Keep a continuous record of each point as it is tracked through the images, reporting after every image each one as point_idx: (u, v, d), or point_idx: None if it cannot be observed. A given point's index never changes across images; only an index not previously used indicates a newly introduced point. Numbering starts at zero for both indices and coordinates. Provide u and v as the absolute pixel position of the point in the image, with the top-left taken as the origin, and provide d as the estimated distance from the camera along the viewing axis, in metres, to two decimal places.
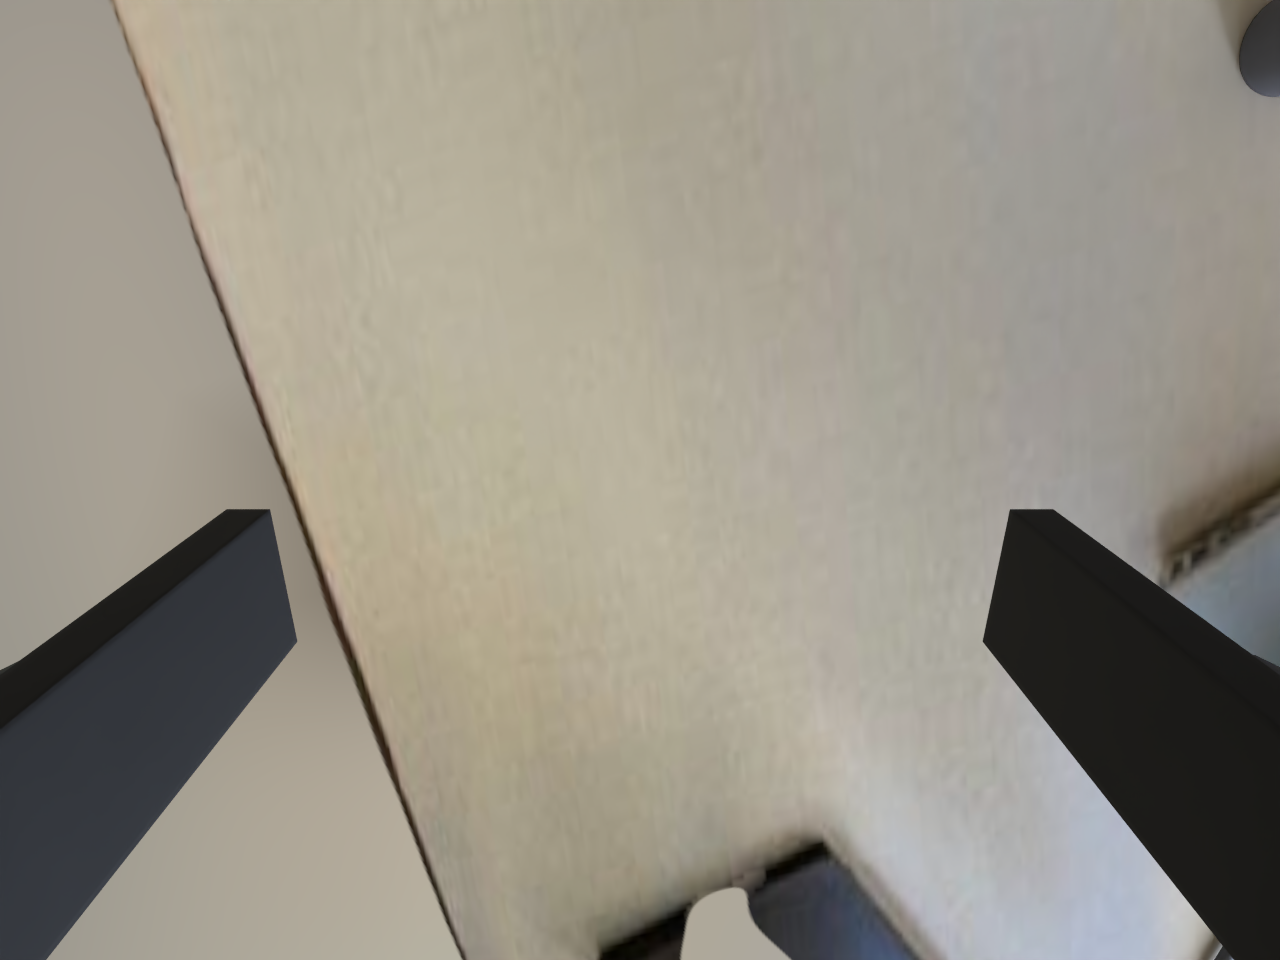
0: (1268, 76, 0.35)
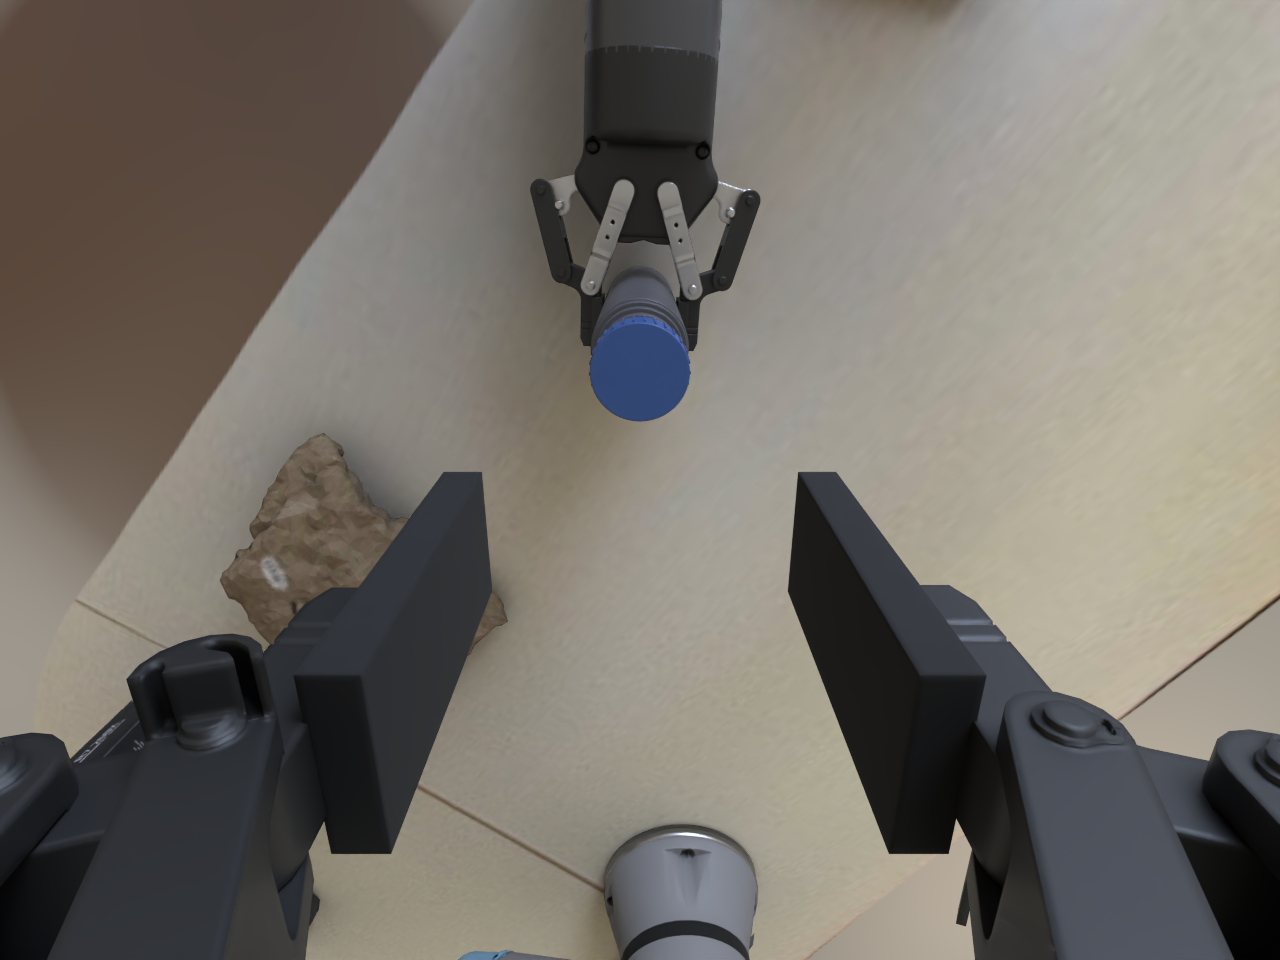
0: None
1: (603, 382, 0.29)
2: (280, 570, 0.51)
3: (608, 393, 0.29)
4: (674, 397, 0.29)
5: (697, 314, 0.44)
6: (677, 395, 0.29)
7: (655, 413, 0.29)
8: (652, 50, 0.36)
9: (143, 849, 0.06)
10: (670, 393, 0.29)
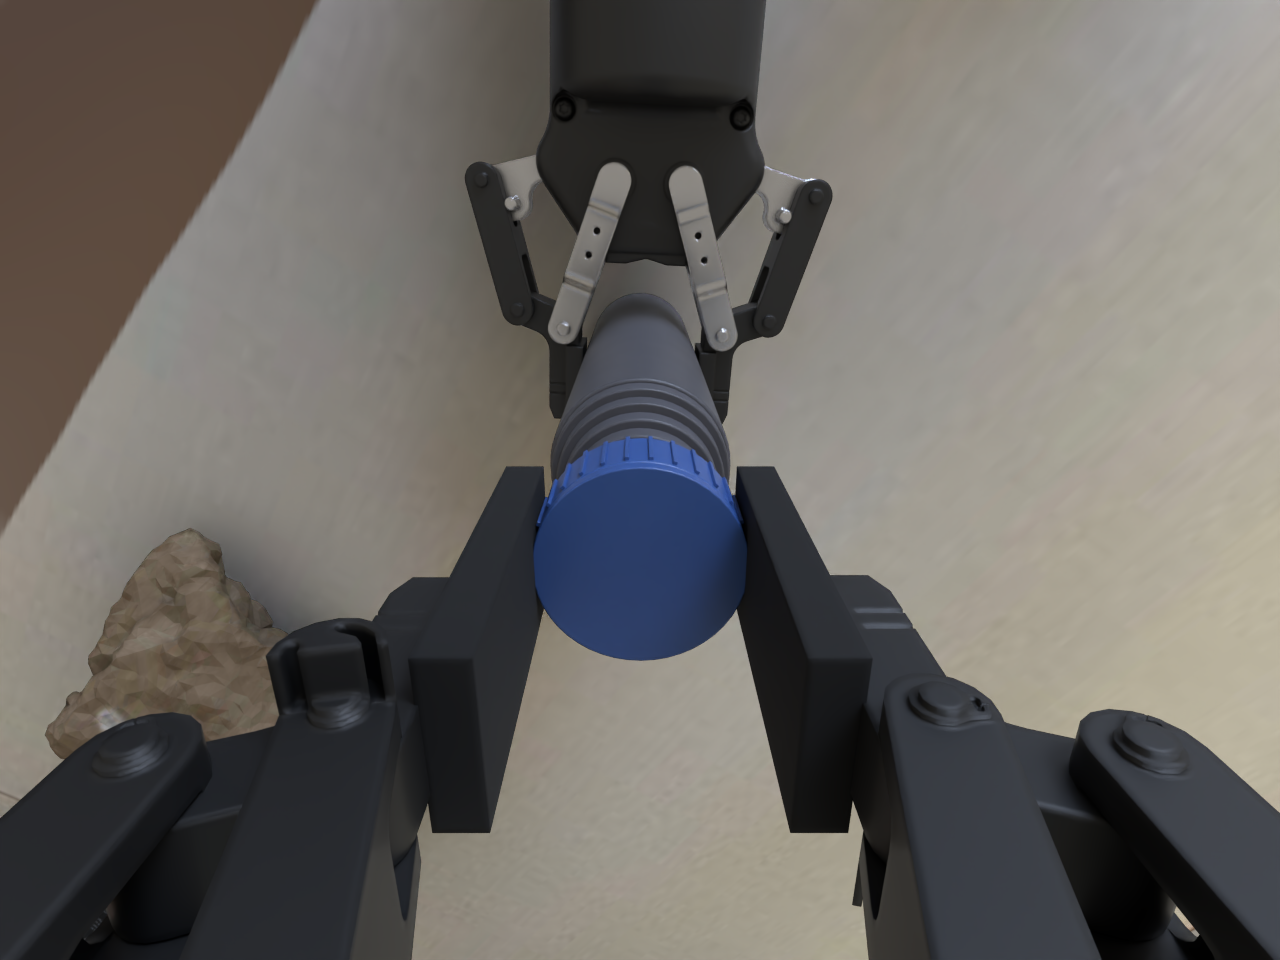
0: None
1: (560, 587, 0.13)
2: None
3: (573, 608, 0.13)
4: (715, 616, 0.13)
5: (728, 372, 0.29)
6: (721, 612, 0.13)
7: (673, 646, 0.14)
8: None
9: (278, 821, 0.06)
10: (706, 608, 0.13)
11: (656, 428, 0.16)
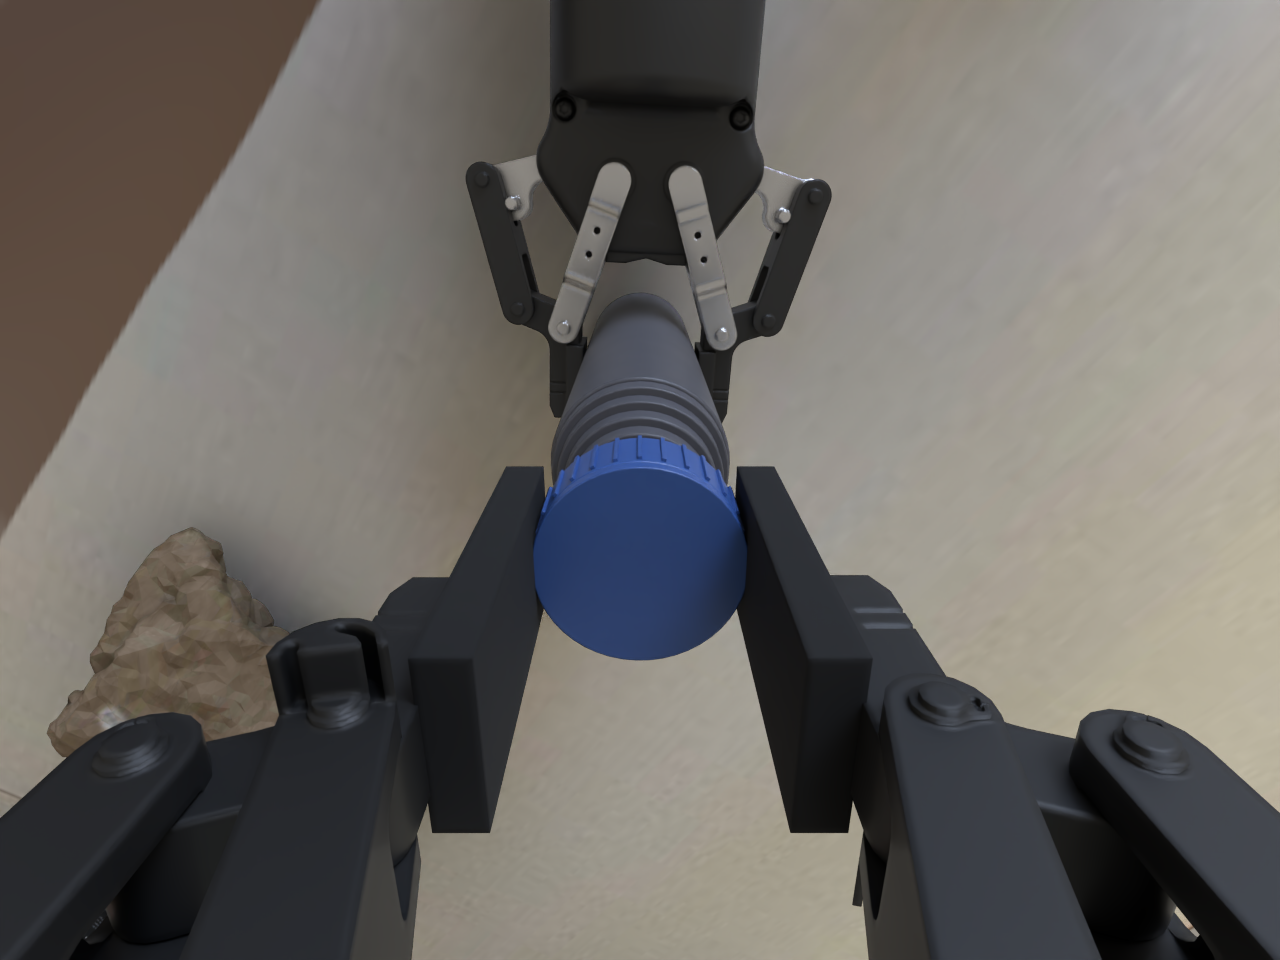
0: None
1: (693, 623, 0.13)
2: None
3: (710, 605, 0.13)
4: (653, 483, 0.12)
5: (728, 371, 0.29)
6: (645, 480, 0.12)
7: (706, 503, 0.13)
8: None
9: (277, 821, 0.06)
10: (649, 494, 0.12)
11: (656, 426, 0.16)
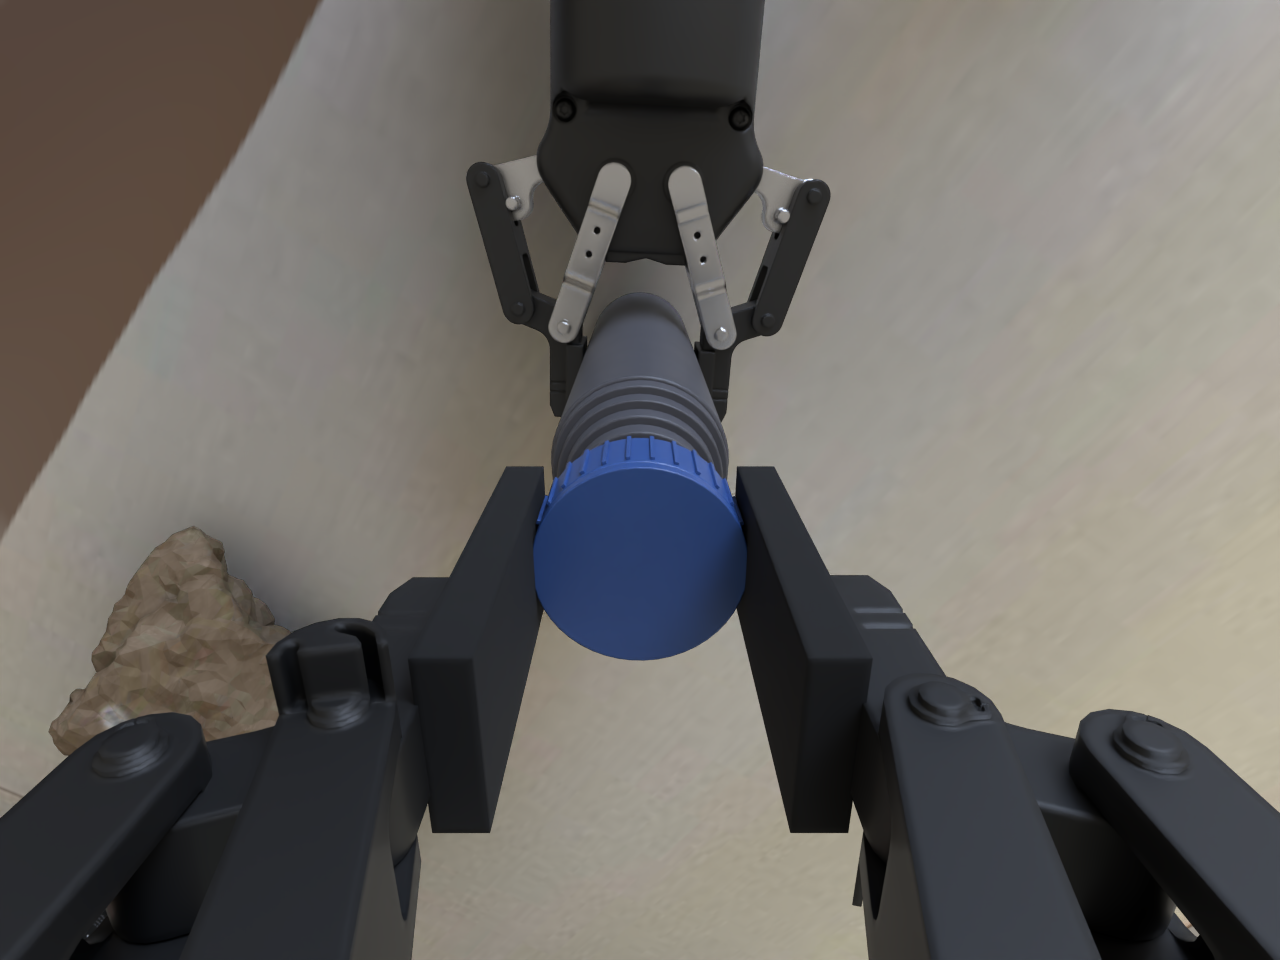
0: None
1: (671, 498, 0.12)
2: None
3: (643, 493, 0.12)
4: (553, 597, 0.13)
5: (727, 370, 0.29)
6: (553, 604, 0.13)
7: (544, 549, 0.13)
8: None
9: (277, 821, 0.06)
10: (565, 595, 0.13)
11: (655, 424, 0.16)
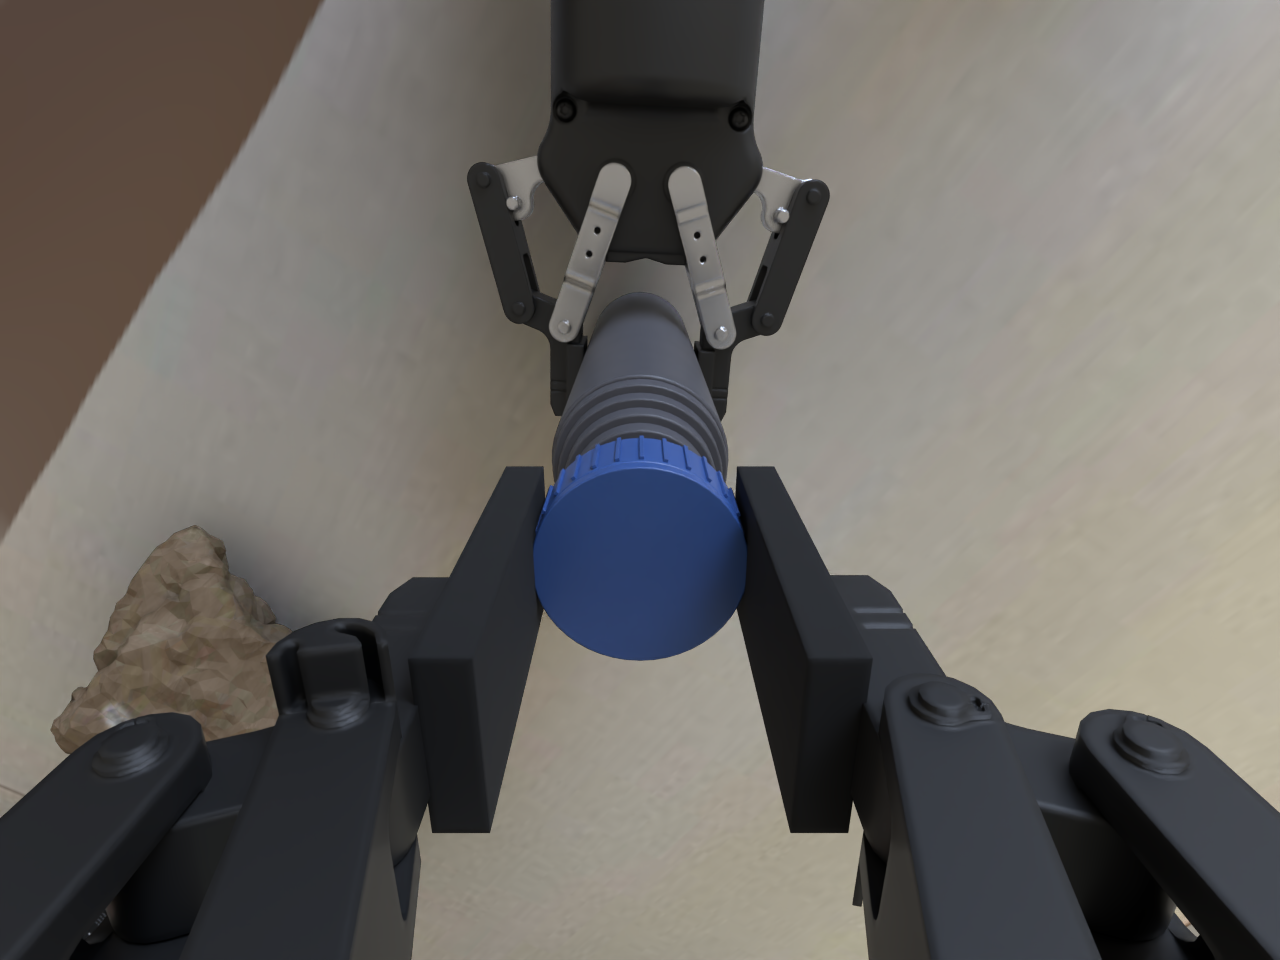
0: None
1: (557, 578, 0.13)
2: None
3: (566, 600, 0.13)
4: (706, 624, 0.13)
5: (727, 369, 0.29)
6: (713, 621, 0.13)
7: (661, 649, 0.14)
8: None
9: (278, 821, 0.06)
10: (699, 615, 0.13)
11: (655, 423, 0.16)
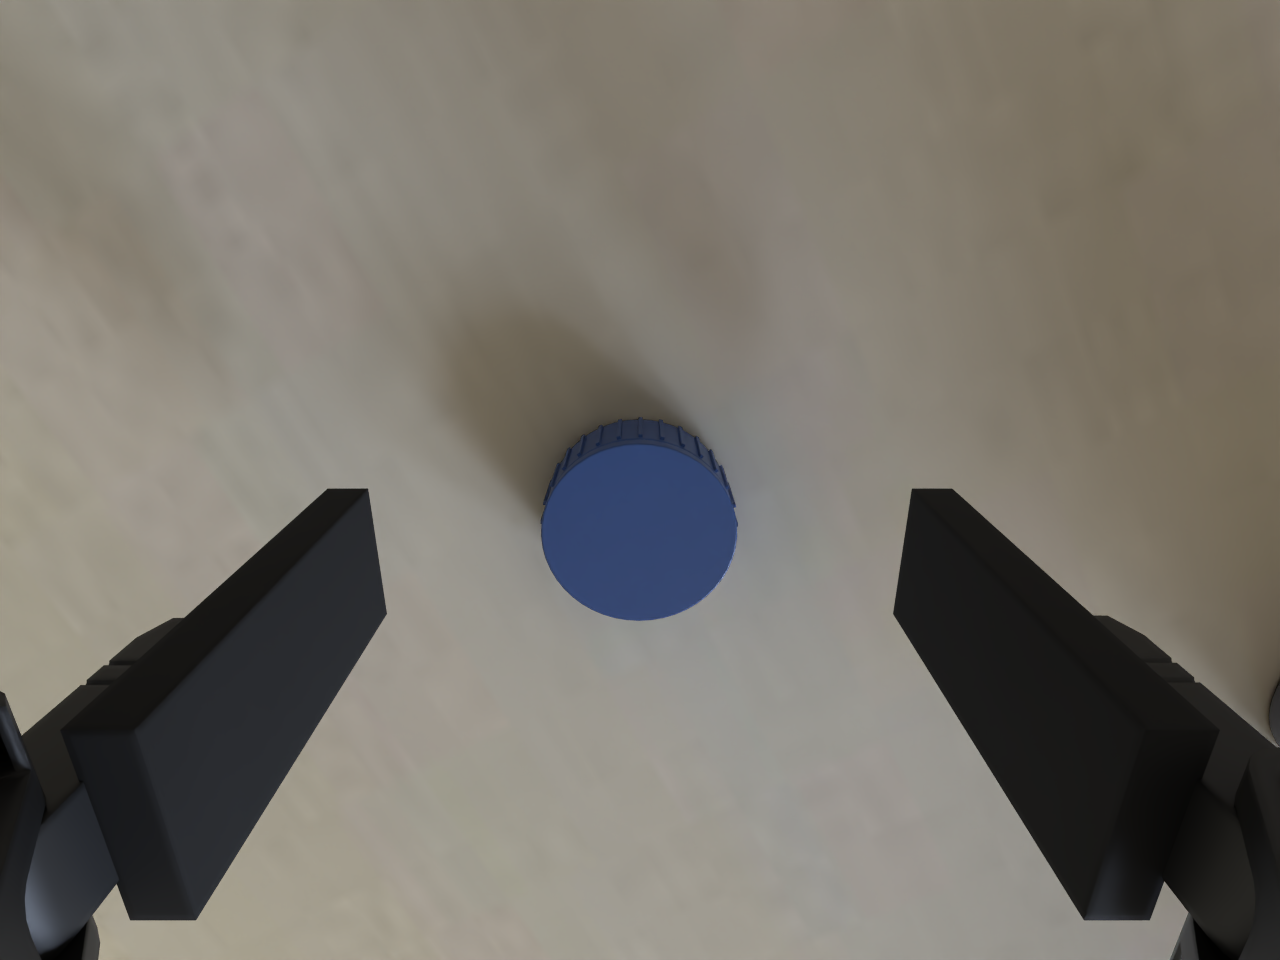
0: None
1: (564, 544, 0.15)
2: None
3: (573, 564, 0.15)
4: (699, 587, 0.15)
5: None
6: (705, 584, 0.15)
7: (658, 610, 0.15)
8: None
9: None
10: (692, 579, 0.15)
11: None
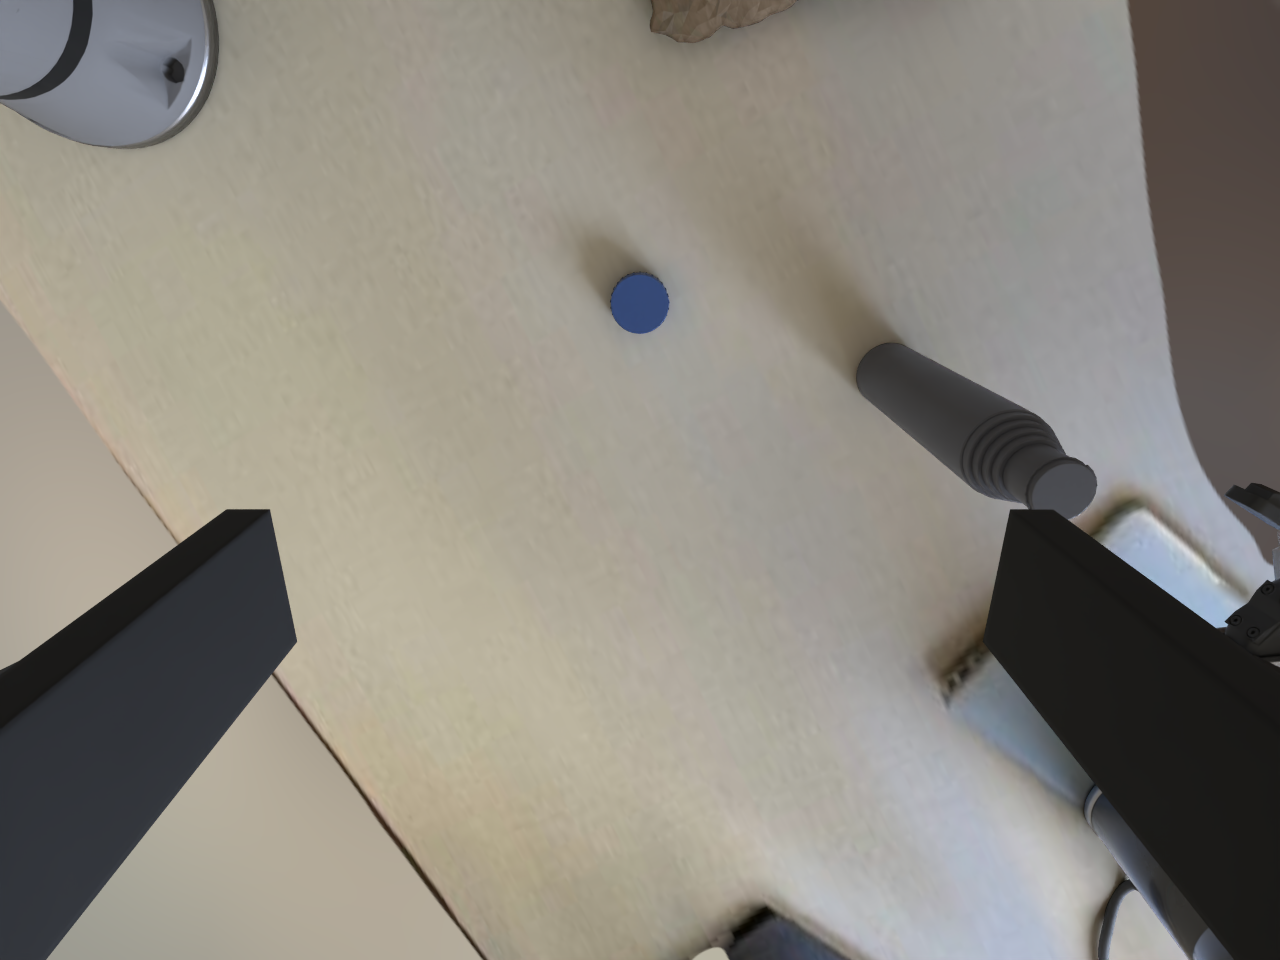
0: None
1: (617, 307, 0.49)
2: None
3: (620, 313, 0.49)
4: (657, 321, 0.50)
5: None
6: (659, 320, 0.49)
7: (645, 329, 0.50)
8: None
9: None
10: (655, 318, 0.49)
11: None
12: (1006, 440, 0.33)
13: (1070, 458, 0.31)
